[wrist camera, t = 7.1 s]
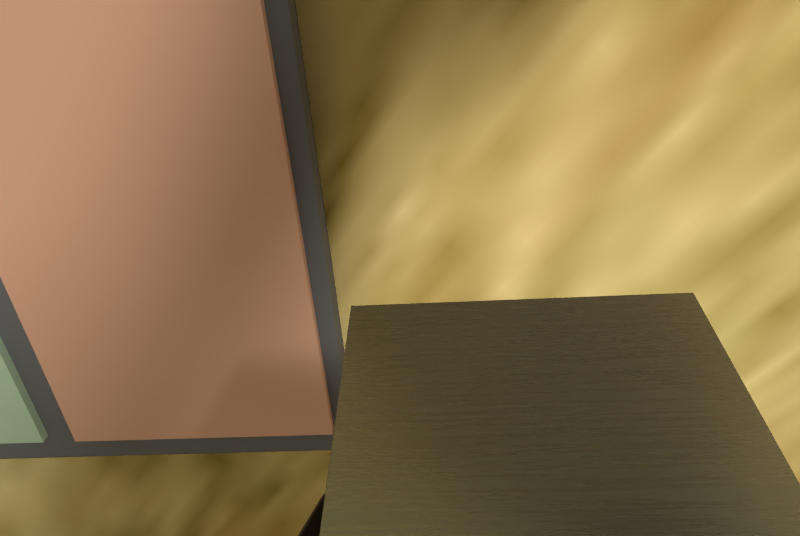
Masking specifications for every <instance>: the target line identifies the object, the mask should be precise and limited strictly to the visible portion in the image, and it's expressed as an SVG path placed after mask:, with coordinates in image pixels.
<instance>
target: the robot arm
mask: <svg viewBox="0 0 800 536" xmlns="http://www.w3.org/2000/svg"><path fill="white" fill-rule="evenodd" d="M324 499H325V494H324V495H323V496H322V497H321V499H320V501H319V502H318V504H317V505H316V507H315V509H314V510H313V512H312V514H311V515H310V517H309V518H308V520H307V522H306V523H305V525H304V527H303V528H302V530H301V532H300V533H299V535H298V536H319V535H320V528H321V521H322V514H323V507H324Z"/></svg>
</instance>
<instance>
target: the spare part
mask: <svg viewBox="0 0 800 536" xmlns="http://www.w3.org/2000/svg"><path fill="white" fill-rule="evenodd" d="M319 536H800V484H799V482H798V480H797V479H796V477H795V475H794V473H793V471H792V470H791V468H790V466H789V464H788V462H787V461H786V459H785V457H784V455H783V453H782V452H781V450H780V448H779V446H778V444H777V443H776V441H775V439H774V437H773V435H772V434H771V432H770V430H769V428H768V426H767V425H766V423H765V421H764V419H763V418H762V416H761V414H760V412H759V410H758V409H757V407H756V405H755V403H754V401H753V400H752V398H751V396H750V394H749V392H748V391H747V389H746V387H745V385H744V383H743V382H742V380H741V378H740V376H739V374H738V373H737V371H736V369H735V367H734V365H733V364H732V362H731V360H730V358H729V356H728V355H727V353H726V351H725V349H724V347H723V346H722V344H721V342H720V340H719V338H718V337H717V335H716V333H715V331H714V330H713V328H712V326H711V324H710V322H709V321H708V319H707V317H706V315H705V313H704V312H703V310H702V308H701V306H700V304H699V303H698V301H697V299H696V297H695V295H694V294H693V293H674V294H649V295H623V296H597V297H571V298H545V299H519V300H494V301H468V302H442V303H416V304H390V305H365V306H351V312H350V319H349V326H348V333H347V341H346V348H345V355H344V362H343V369H342V377H341V384H340V391H339V398H338V405H337V413H336V420H335V427H334V434H333V442H332V449H331V456H330V463H329V470H328V478H327V485H326V492H325V499H324V507H323V514H322V521H321V528H320V535H319Z"/></svg>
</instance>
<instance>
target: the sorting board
mask: <svg viewBox="0 0 800 536" xmlns="http://www.w3.org/2000/svg"><path fill="white" fill-rule="evenodd" d="M344 355H345V353H344V346H343V339H342V332H341V325H340V318H339V311H338V304H337V296H336V289H335V282H334V275H333V268H332V261H331V254H330V247H329V240H328V233H327V226H326V219H325V212H324V204H323V197H322V190H321V183H320V176H319V169H318V162H317V155H316V148H315V141H314V134H313V127H312V120H311V112H310V105H309V98H308V91H307V84H306V77H305V70H304V63H303V56H302V49H301V42H300V35H299V28H298V20H297V13H296V6H295V0H0V459H8V458H46V457H84V456H122V455H160V454H198V453H236V452H274V451H312V450H331V449H332V442H333V434H334V427H335V420H336V413H337V405H338V398H339V391H340V384H341V377H342V369H343V362H344Z"/></svg>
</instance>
